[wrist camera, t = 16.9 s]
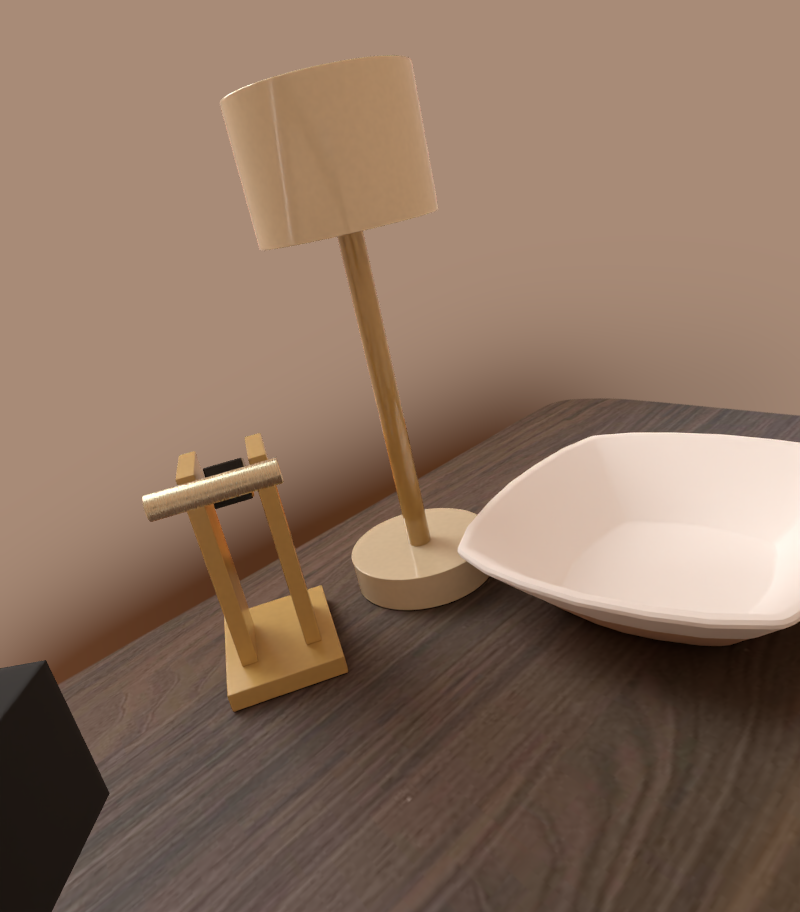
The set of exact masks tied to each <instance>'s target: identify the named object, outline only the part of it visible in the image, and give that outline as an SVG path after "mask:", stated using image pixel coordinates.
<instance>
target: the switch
mask: <svg viewBox="0 0 800 912" xmlns="http://www.w3.org/2000/svg"><path fill="white" fill-rule="evenodd" d="M203 471H204V474H205V478H203V479H200V480H196V481H193V482H189V483H186V484H182V485H179V486H175V487H172V488H169V489H165V490H161V491H158V492H155V493H151V494H148V495H144V496H143V498H142V502H143V507H144V510H145V513H146V516H147V518H148V519H149V521H151V522H153V521H156V520H160V519H163V518H167V517H170V516H173V515H177V514H180V513H183V512H187V511H190V510H194V509H197V508H200V507H204V506H207V505H211V504H213V505H214V508H215V509H218V508H221V507H225V506H228V505H231V504H235V503H238V502H241V501H245V500H248V499H251V498H253V496H254V491H258V490H261V489H265V488H268V487H272V486H275V485H278V484H282V483H283V482H284V481H283V477H282V474H281V471H280V467H279V464H278V461H277V458H272V459H269V460H266V461H262V462H259V463H255V464H252V465H248V466H246V465H245V462H244V459H243V458H238V459H235V460H231V461H228V462H224V463H220V464H217V465H213V466H210V467H207V468H204V469H203Z"/></svg>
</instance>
